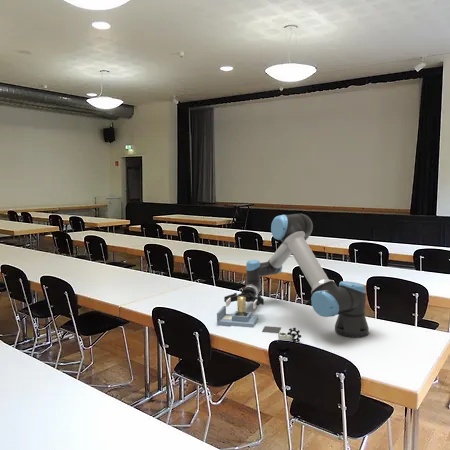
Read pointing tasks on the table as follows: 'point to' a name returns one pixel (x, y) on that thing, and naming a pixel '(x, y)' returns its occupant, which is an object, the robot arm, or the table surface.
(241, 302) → the brass peg
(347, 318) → the robot arm
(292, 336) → the valve
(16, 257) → the table surface
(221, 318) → the grey socket fixture
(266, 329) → the pad
